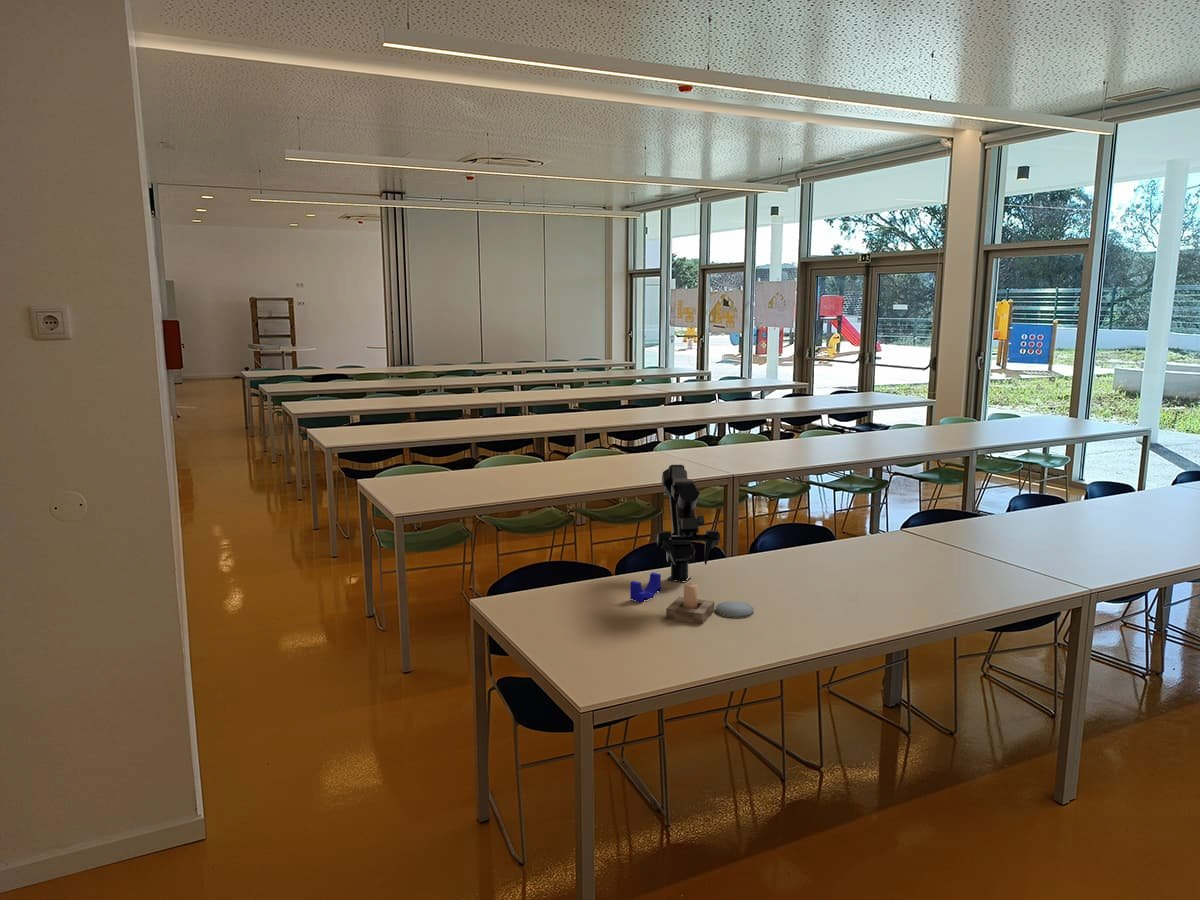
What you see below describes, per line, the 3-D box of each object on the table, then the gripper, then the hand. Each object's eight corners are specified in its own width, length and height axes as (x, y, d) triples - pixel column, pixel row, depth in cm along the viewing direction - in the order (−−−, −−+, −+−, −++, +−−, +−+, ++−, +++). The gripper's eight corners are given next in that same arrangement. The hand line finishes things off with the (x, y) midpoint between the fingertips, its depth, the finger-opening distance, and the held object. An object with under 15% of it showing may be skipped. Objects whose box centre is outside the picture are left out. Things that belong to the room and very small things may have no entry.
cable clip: (642, 603, 248) (642, 584, 247) (630, 600, 251) (630, 582, 250) (664, 593, 258) (664, 575, 257) (652, 590, 260) (652, 572, 259)
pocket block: (678, 606, 245) (679, 596, 245) (714, 611, 241) (714, 601, 240) (666, 618, 235) (666, 608, 235) (702, 623, 231) (702, 613, 230)
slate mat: (721, 602, 248) (722, 599, 248) (757, 607, 243) (757, 604, 243) (711, 614, 238) (711, 611, 238) (748, 620, 233) (748, 616, 233)
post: (686, 611, 241) (686, 582, 239) (699, 613, 239) (699, 584, 238) (681, 616, 237) (681, 586, 236) (694, 618, 235) (695, 588, 234)
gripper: (658, 506, 244) (661, 553, 236) (719, 505, 245) (725, 552, 236) (655, 522, 254) (658, 569, 245) (714, 521, 254) (720, 568, 246)
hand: (690, 564), depth 243 cm, fingers open, 9 cm apart
